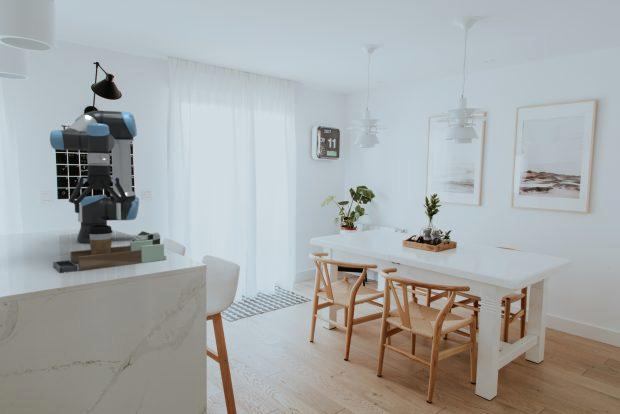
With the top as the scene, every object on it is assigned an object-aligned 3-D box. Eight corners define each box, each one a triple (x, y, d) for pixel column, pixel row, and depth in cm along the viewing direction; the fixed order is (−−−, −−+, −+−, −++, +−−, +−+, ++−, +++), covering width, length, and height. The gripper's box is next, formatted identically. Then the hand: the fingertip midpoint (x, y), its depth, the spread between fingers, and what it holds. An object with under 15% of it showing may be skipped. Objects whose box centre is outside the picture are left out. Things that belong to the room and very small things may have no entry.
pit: (53, 266, 152) (53, 262, 152) (69, 264, 156) (69, 260, 156) (60, 273, 143) (59, 267, 143) (77, 270, 147) (77, 265, 147)
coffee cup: (109, 261, 164) (108, 224, 162) (116, 264, 158) (115, 226, 156) (86, 264, 158) (85, 225, 157) (93, 267, 152) (92, 228, 151)
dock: (130, 257, 171) (129, 242, 171) (154, 254, 178) (153, 239, 178) (141, 262, 161) (141, 246, 161) (166, 259, 168) (166, 244, 168)
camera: (147, 249, 191) (146, 227, 190) (163, 250, 189) (163, 228, 188) (124, 255, 175) (124, 232, 175) (142, 256, 174) (142, 233, 173)
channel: (71, 264, 157) (70, 251, 156) (130, 257, 171) (130, 245, 171) (79, 270, 147) (79, 257, 146) (141, 262, 161) (141, 250, 161)
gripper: (63, 163, 143) (65, 223, 145) (136, 165, 160) (136, 219, 162) (58, 164, 149) (60, 221, 151) (129, 166, 166) (130, 217, 167)
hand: (100, 220), depth 156 cm, fingers open, 13 cm apart
